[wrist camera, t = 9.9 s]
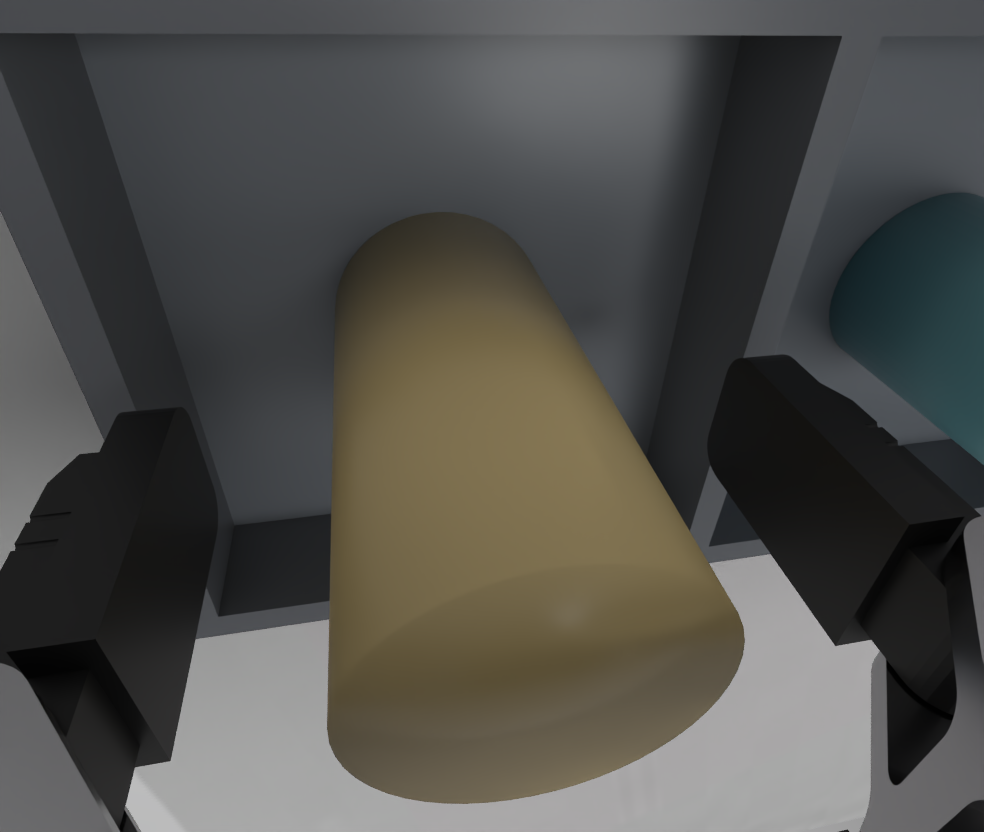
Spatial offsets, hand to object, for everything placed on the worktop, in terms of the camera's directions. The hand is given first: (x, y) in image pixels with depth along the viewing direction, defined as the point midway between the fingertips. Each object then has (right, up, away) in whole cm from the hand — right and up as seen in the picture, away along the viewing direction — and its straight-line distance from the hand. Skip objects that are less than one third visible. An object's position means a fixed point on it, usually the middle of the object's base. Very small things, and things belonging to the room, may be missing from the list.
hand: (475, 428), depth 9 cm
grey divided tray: (+4, +3, +5) cm, 7 cm away
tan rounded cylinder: (-1, +2, +3) cm, 4 cm away
